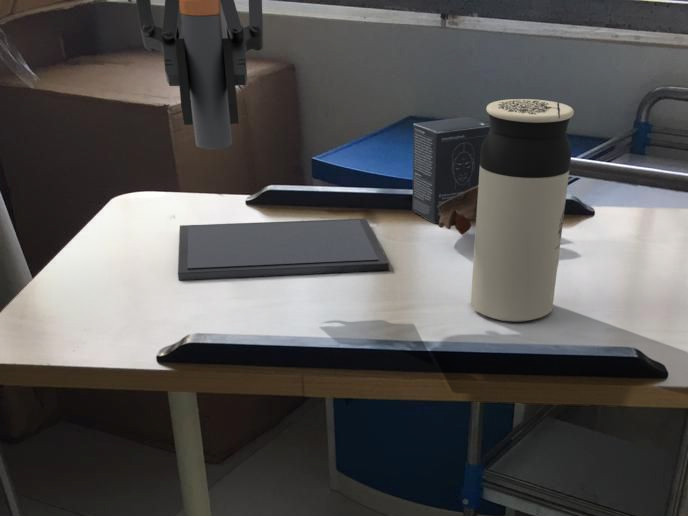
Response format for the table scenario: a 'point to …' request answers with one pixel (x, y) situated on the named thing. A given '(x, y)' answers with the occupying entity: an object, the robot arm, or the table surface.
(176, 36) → the robot arm
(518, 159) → the travel mug
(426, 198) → the box
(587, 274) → the table surface
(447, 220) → the brown jagged lump
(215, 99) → the bottle
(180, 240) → the tablet
